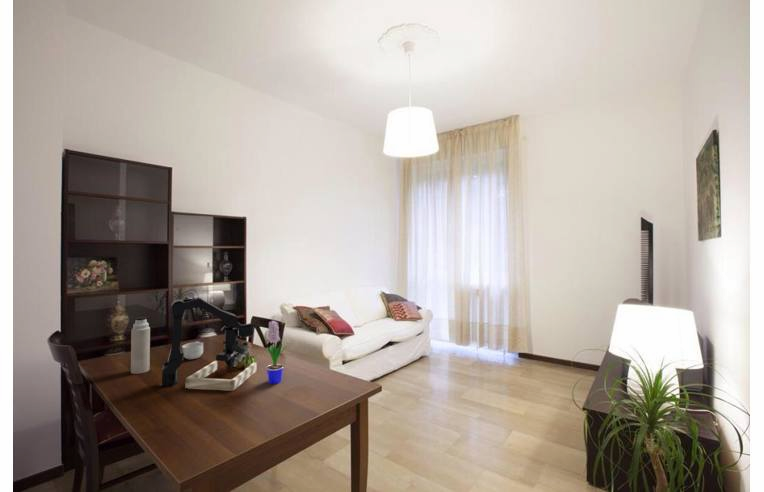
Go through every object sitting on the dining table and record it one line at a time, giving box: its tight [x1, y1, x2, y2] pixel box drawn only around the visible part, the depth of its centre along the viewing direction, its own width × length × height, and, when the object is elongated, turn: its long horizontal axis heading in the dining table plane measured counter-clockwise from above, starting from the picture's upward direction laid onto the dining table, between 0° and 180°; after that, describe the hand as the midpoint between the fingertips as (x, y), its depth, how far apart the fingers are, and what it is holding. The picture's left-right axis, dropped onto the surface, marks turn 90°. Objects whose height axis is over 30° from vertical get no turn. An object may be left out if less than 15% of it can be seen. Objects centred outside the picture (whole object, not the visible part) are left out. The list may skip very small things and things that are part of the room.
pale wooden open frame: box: [184, 360, 258, 392], centre depth 169 cm, size 24×23×4 cm
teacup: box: [181, 340, 204, 360], centre depth 201 cm, size 14×11×8 cm
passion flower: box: [233, 349, 259, 370], centre depth 188 cm, size 13×12×14 cm
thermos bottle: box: [130, 316, 151, 375], centre depth 177 cm, size 8×8×28 cm
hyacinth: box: [265, 320, 287, 385], centre depth 167 cm, size 9×10×30 cm
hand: (230, 368), depth 176 cm, fingers closed
